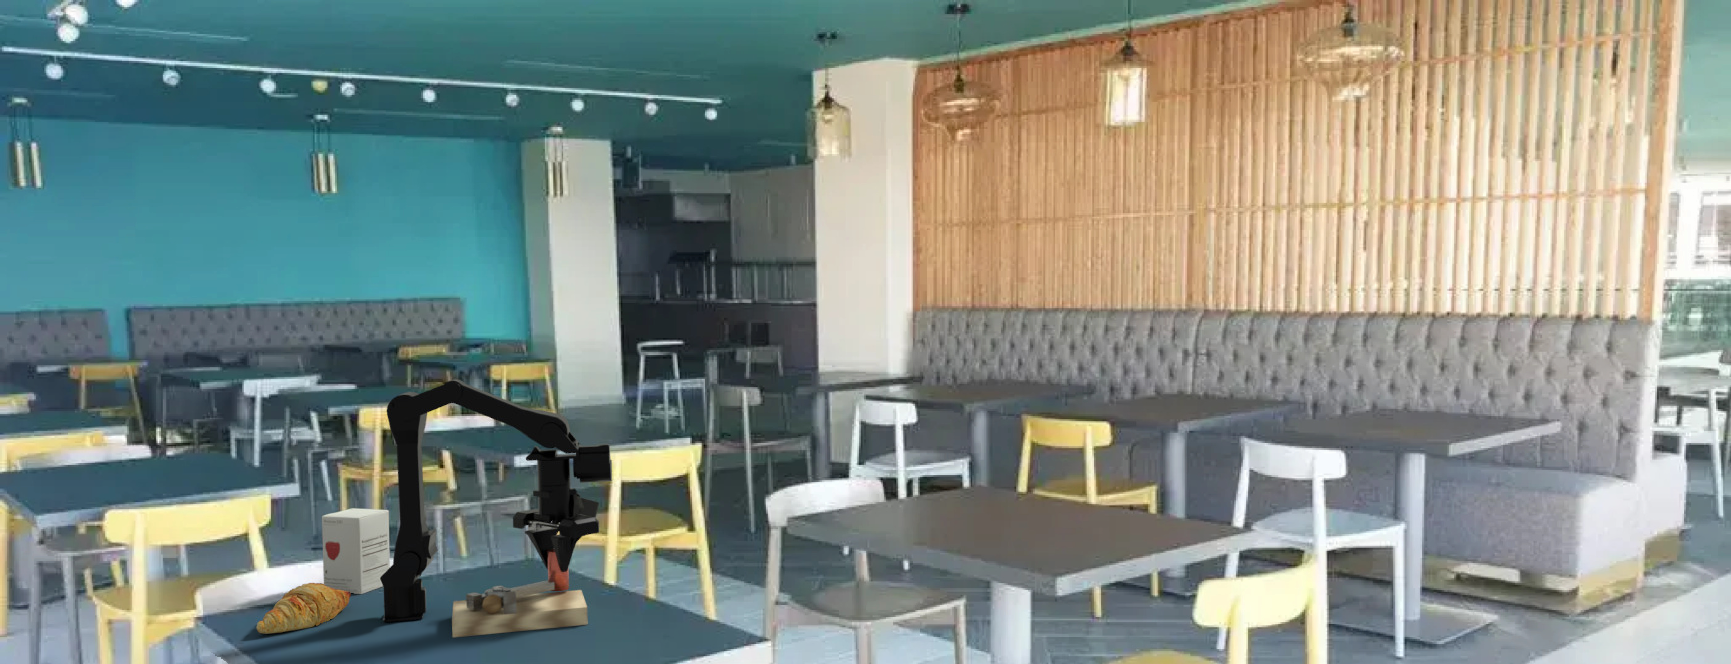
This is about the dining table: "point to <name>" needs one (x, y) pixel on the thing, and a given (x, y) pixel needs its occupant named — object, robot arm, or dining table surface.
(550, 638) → the dining table surface
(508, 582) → the dining table surface
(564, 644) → the dining table surface
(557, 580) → the lever
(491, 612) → the walnut
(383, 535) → the supplement box
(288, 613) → the croissant
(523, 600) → the block
